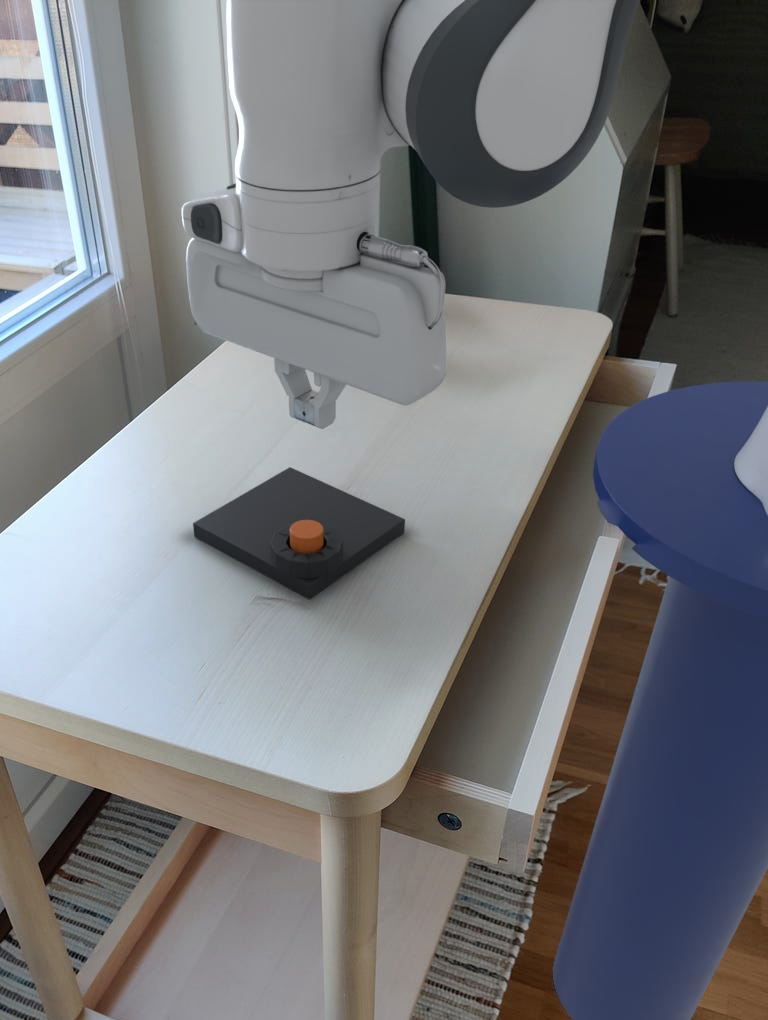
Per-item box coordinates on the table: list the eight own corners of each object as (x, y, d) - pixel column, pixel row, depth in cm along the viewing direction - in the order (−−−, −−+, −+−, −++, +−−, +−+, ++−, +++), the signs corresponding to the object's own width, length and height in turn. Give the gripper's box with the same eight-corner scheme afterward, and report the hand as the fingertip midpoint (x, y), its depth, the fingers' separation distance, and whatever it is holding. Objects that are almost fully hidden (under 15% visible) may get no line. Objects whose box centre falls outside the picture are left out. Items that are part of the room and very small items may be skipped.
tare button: (330, 544, 75) (330, 527, 74) (308, 559, 73) (308, 542, 72) (305, 532, 76) (305, 515, 75) (283, 546, 74) (282, 529, 73)
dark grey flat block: (406, 534, 80) (409, 503, 78) (310, 602, 73) (309, 571, 71) (290, 480, 87) (289, 450, 85) (191, 538, 80) (188, 507, 78)
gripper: (477, 239, 56) (458, 449, 65) (230, 180, 67) (243, 367, 76) (412, 271, 52) (401, 487, 62) (163, 203, 63) (185, 396, 72)
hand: (312, 420), depth 69 cm, fingers closed
